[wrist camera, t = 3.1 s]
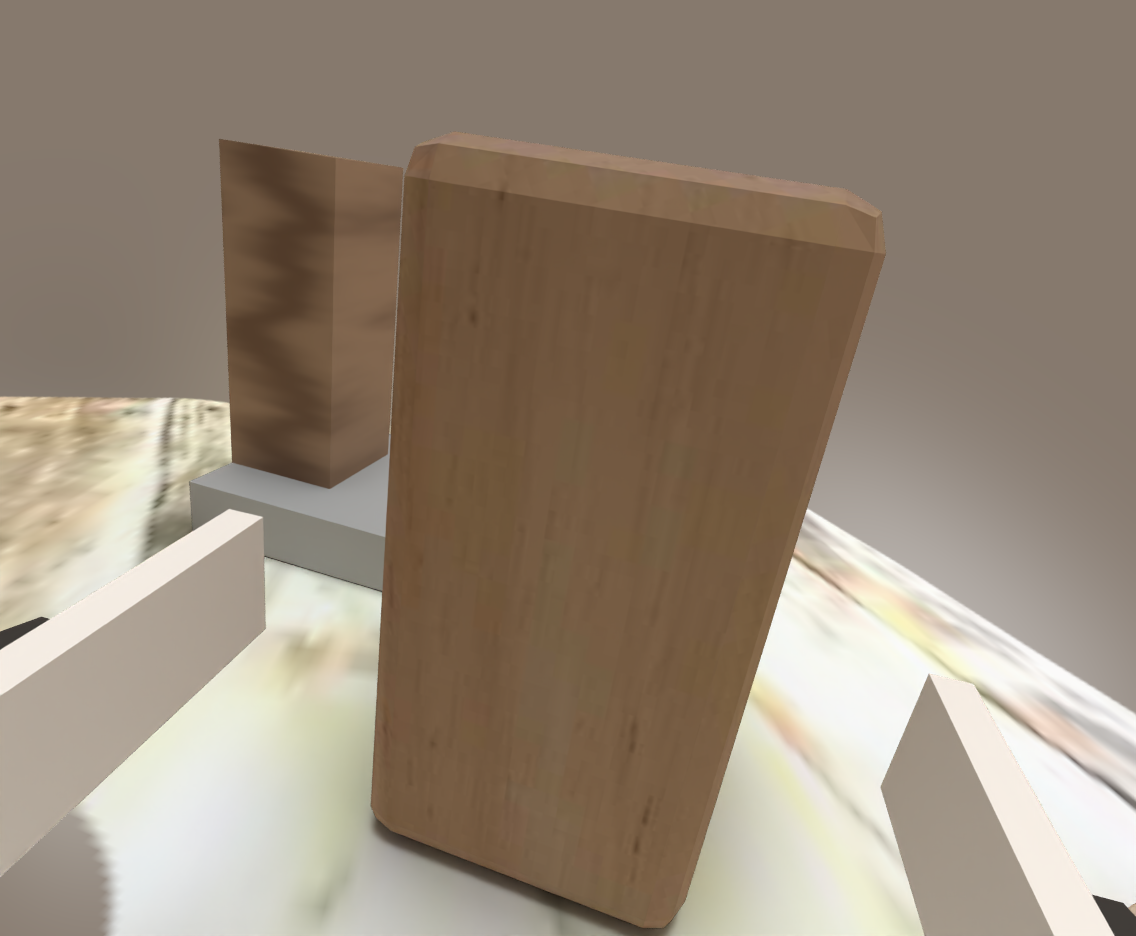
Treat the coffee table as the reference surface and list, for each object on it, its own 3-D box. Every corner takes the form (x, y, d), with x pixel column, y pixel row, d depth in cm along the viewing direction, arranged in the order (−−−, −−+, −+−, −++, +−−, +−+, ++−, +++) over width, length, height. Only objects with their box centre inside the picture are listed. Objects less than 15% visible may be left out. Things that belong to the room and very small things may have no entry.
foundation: (192, 534, 35) (189, 479, 34) (329, 461, 46) (329, 417, 45) (643, 669, 31) (656, 612, 29) (677, 552, 41) (688, 506, 40)
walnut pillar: (232, 462, 37) (219, 138, 31) (301, 431, 42) (301, 151, 36) (329, 489, 36) (335, 157, 30) (388, 454, 41) (403, 167, 35)
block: (482, 650, 30) (542, 160, 23) (706, 721, 28) (853, 208, 21) (356, 834, 21) (387, 118, 14) (673, 957, 19) (912, 195, 12)
